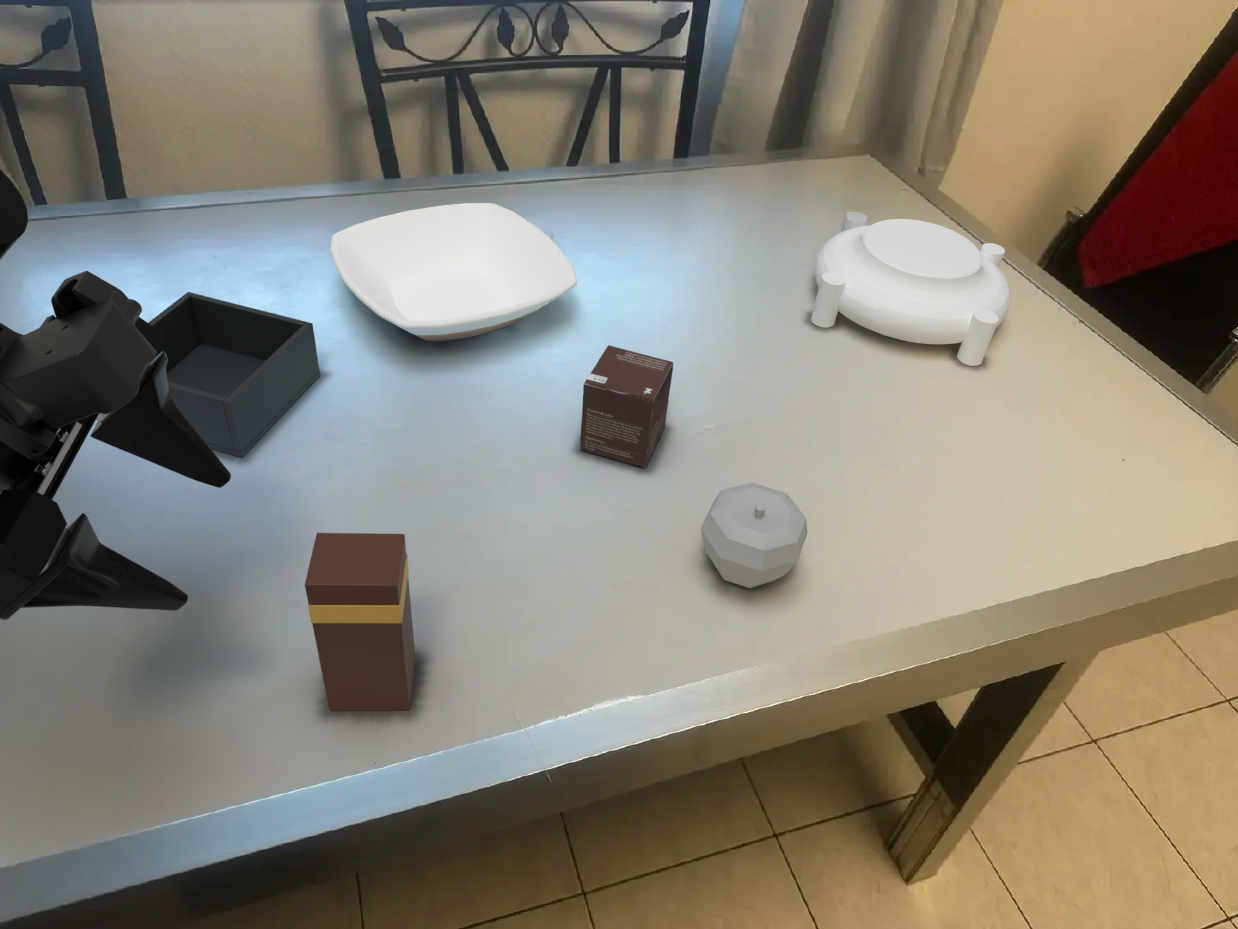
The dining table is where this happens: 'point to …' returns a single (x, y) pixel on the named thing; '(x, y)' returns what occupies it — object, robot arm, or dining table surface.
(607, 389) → the box
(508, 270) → the bowl
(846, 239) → the round stand with pegs
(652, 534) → the dining table surface
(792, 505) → the apple
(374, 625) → the chocolate carton
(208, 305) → the open storage bin
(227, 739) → the dining table surface
